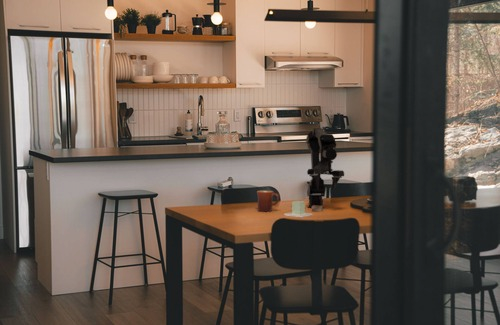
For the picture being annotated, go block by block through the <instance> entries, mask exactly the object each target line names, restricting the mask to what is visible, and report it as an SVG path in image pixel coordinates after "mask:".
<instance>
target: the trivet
mask: <svg viewBox="0 0 500 325" xmlns="http://www.w3.org/2000/svg"><path fill="white" fill-rule="evenodd" d="M284 216H287V217H288V216H289V217H297V218H305V217H309V216H313V212H312V213H311V212H305V214H292V211H291V212H287V213H286V212H285V213H284Z"/></svg>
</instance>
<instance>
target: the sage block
mask: <svg viewBox="0 0 500 325" xmlns="http://www.w3.org/2000/svg"><path fill="white" fill-rule="evenodd" d="M291 203H292V204H291V205H292V206H291V207H292V208H291V212H292V214H305V213H306V202H305V201H302V200H294V201H292V202H291Z"/></svg>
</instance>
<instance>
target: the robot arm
mask: <svg viewBox="0 0 500 325" xmlns="http://www.w3.org/2000/svg"><path fill="white" fill-rule="evenodd" d="M305 141H306V142H305V143H306V144H307V149H308V150H309V151H310V157H311V158H310V161H311V164H310V166H311V168H308V169H307V171H306V173H307V175H309V177H311V178H310V179H311V180H310V181H309V184H308V187H307V190H306V191H307V192H306V195H307V197H308V206H307V208H311V209H312V206H313V205H318V206H323V207H324V203H323V201H324V200H323V197H325V194H326V190H327V189H326V186H325V181H324V179H323V178H322V177H321V175H326V176H327V175H328V176H329V175H331V179H332V180H331V183H332V186H331V189H332V191H335V188H336V187H337V184H338V182H339V181H340V179H341V178H342V177H345V172H344V170H339V169H337V170H335V169H333V168H332V164H333V163H334V162H333V160H335V159H336V158H337V155H338V153H337V151H336V150H335V148H337V142H336V139H335V136H334V135H333V134H331V133H327V132H325V131H324V129H323V128H319V127H317V128H315V127H314V128H312V130H311V131H310V132H309V133H307V136H306V139H305Z"/></svg>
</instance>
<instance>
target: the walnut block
mask: <svg viewBox="0 0 500 325" xmlns="http://www.w3.org/2000/svg"><path fill="white" fill-rule="evenodd" d="M323 208H324V205H323V206H318V205H313V206H312V208H311V212H312V213H322V212H323V211H324V209H323Z"/></svg>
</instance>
